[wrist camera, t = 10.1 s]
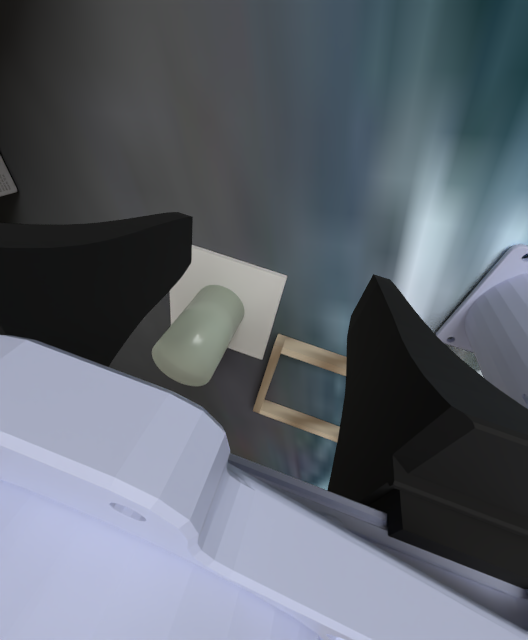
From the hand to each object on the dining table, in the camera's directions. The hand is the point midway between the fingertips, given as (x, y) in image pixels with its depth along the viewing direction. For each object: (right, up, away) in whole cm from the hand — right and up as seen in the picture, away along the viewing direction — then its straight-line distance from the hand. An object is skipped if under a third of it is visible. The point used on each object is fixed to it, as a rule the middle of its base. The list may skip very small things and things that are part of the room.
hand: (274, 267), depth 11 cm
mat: (-4, -1, +15) cm, 15 cm away
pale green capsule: (-4, -1, +14) cm, 15 cm away
